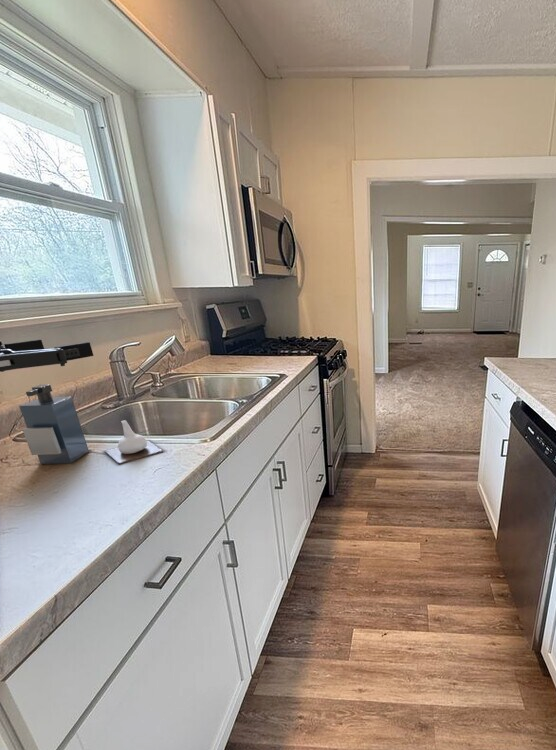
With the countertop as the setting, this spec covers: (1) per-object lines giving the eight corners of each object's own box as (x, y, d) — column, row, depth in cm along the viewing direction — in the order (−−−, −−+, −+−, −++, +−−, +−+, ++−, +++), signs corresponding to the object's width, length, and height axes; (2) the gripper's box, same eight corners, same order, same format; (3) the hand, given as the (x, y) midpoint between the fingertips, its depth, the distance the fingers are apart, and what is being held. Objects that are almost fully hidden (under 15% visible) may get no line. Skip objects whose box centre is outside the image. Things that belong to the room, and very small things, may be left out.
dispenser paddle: (58, 454, 92) (49, 428, 90) (31, 455, 92) (21, 429, 90) (61, 452, 93) (52, 426, 91) (34, 453, 93) (25, 427, 91)
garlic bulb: (143, 454, 99) (136, 423, 96) (115, 456, 98) (106, 426, 95) (151, 444, 105) (144, 415, 102) (124, 447, 104) (116, 417, 100)
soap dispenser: (70, 466, 95) (44, 390, 88) (39, 467, 95) (10, 390, 88) (89, 453, 102) (67, 381, 95) (61, 454, 102) (36, 382, 95)
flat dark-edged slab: (105, 454, 102) (104, 450, 101) (147, 443, 109) (146, 439, 108) (119, 466, 95) (118, 462, 95) (163, 454, 102) (163, 450, 101)
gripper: (-102, 385, 69) (29, 362, 88) (-4, 396, 63) (116, 369, 81) (-124, 341, 66) (17, 327, 85) (-23, 347, 60) (106, 330, 78)
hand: (65, 347), depth 83 cm, fingers open, 13 cm apart
